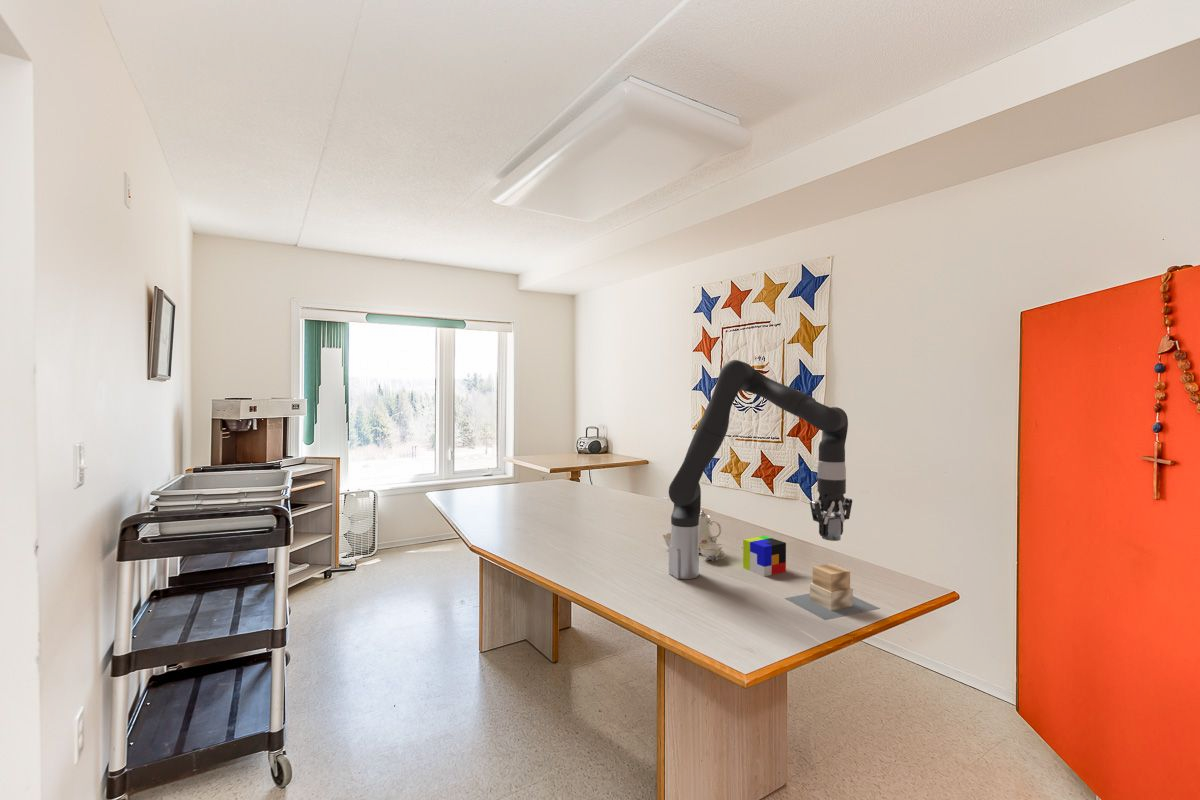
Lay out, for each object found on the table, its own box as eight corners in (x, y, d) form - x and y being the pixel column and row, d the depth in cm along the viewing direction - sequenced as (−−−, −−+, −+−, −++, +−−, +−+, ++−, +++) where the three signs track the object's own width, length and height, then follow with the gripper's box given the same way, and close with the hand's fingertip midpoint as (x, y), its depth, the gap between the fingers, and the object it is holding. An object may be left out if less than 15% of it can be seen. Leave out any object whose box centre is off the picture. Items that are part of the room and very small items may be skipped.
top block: (831, 592, 150) (831, 574, 150) (812, 583, 157) (812, 566, 156) (850, 588, 153) (850, 571, 152) (831, 580, 159) (831, 563, 159)
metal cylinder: (831, 541, 151) (831, 520, 151) (817, 537, 156) (818, 516, 156) (844, 539, 153) (844, 518, 153) (831, 535, 158) (831, 514, 157)
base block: (831, 610, 150) (831, 592, 149) (810, 600, 157) (810, 583, 157) (852, 606, 152) (852, 588, 152) (831, 596, 160) (831, 579, 160)
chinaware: (655, 553, 209) (652, 512, 207) (680, 540, 221) (677, 501, 219) (718, 570, 190) (716, 524, 188) (741, 554, 202) (739, 511, 200)
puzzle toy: (764, 576, 178) (764, 547, 178) (743, 567, 187) (743, 539, 187) (785, 571, 183) (786, 542, 183) (764, 563, 192) (764, 535, 192)
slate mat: (825, 622, 144) (825, 619, 144) (784, 600, 158) (784, 598, 158) (880, 610, 151) (880, 608, 151) (836, 590, 166) (836, 588, 166)
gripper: (822, 480, 148) (821, 541, 148) (860, 477, 153) (860, 536, 153) (802, 476, 155) (802, 534, 155) (840, 473, 160) (839, 529, 160)
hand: (831, 535), depth 154 cm, fingers closed on metal cylinder, 5 cm apart
